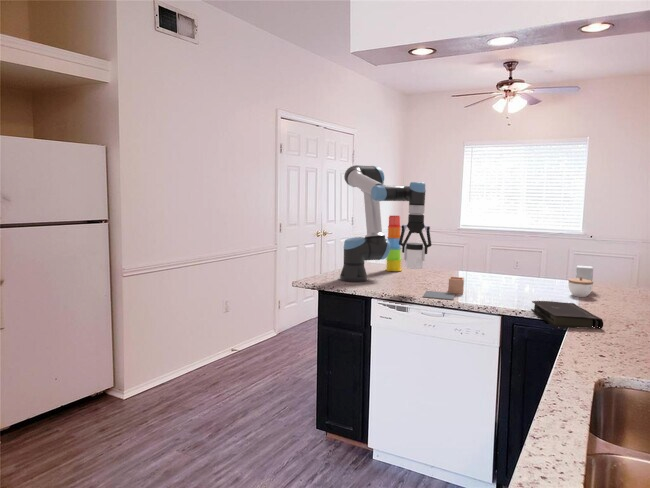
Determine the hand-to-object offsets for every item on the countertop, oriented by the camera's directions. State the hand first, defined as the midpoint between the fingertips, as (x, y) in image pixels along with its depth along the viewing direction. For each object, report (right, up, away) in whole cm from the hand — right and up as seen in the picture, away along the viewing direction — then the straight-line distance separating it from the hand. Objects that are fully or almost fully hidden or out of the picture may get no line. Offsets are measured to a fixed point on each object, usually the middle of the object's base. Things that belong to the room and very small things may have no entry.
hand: (414, 260), depth 231 cm
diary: (+52, -23, -43) cm, 71 cm away
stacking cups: (-1, -9, +64) cm, 65 cm away
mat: (+11, -17, -5) cm, 21 cm away
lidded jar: (+82, -18, +1) cm, 84 cm away
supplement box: (+91, -17, +14) cm, 93 cm away
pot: (+22, -16, +4) cm, 27 cm away
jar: (0, -4, +1) cm, 4 cm away
